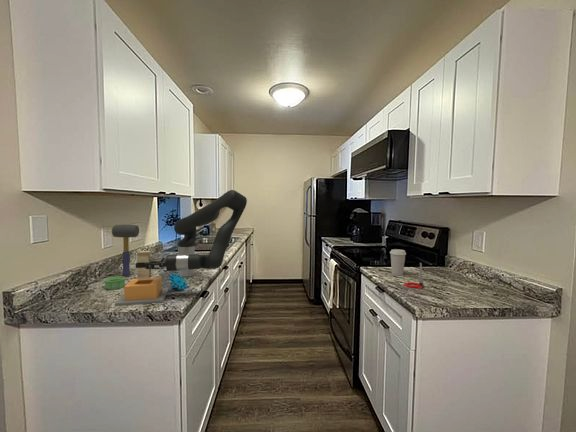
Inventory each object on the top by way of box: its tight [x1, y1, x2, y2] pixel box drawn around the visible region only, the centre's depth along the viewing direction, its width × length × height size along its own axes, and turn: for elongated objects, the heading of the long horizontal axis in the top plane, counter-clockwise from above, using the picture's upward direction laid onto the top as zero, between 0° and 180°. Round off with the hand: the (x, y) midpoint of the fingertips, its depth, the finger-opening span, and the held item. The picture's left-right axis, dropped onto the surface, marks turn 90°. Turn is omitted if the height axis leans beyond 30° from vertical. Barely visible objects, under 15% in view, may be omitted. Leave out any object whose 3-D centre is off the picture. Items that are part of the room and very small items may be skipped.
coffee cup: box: [389, 248, 407, 276], centre depth 173 cm, size 10×10×15 cm
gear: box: [168, 272, 188, 291], centre depth 138 cm, size 11×6×10 cm
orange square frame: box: [114, 277, 170, 307], centre depth 125 cm, size 18×18×7 cm
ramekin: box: [104, 275, 126, 290], centre depth 139 cm, size 9×9×4 cm
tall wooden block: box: [136, 250, 152, 280], centre depth 124 cm, size 4×4×12 cm
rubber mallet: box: [111, 224, 140, 278], centre depth 159 cm, size 12×8×30 cm, turn 98°
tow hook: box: [403, 262, 425, 290], centre depth 148 cm, size 8×13×9 cm
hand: (137, 264), depth 124 cm, fingers closed on tall wooden block, 4 cm apart
